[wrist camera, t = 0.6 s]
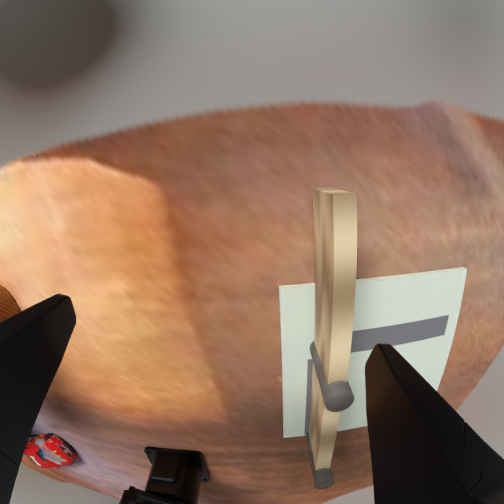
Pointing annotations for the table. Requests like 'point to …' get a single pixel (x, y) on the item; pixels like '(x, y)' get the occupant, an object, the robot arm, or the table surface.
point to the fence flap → (334, 292)
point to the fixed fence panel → (321, 436)
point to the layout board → (370, 336)
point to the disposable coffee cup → (7, 304)
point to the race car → (49, 451)
